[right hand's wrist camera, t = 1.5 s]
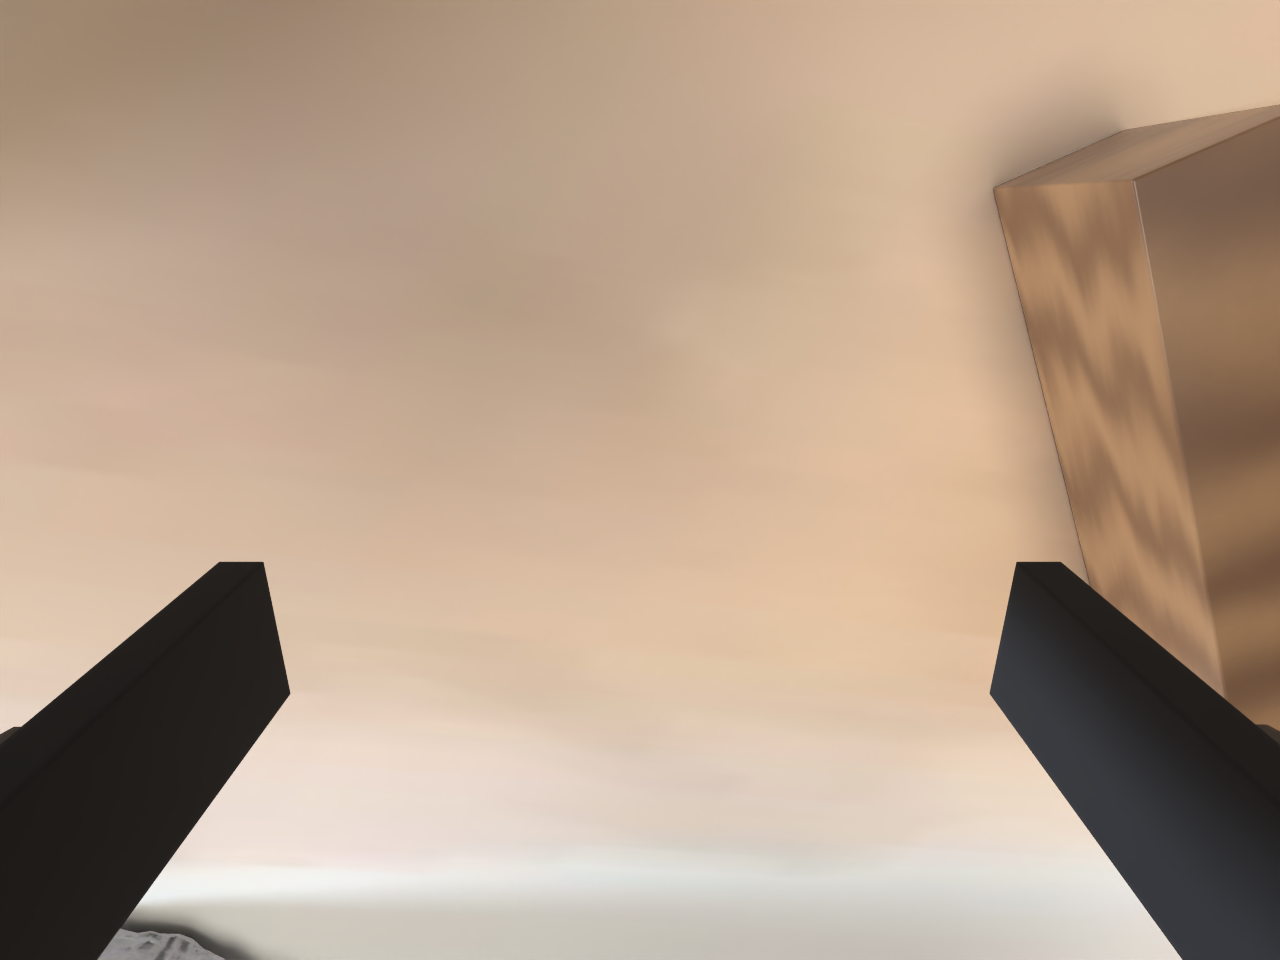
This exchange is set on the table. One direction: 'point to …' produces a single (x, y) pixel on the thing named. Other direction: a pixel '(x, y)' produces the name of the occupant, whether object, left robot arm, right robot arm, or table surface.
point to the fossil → (154, 947)
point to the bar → (1167, 379)
